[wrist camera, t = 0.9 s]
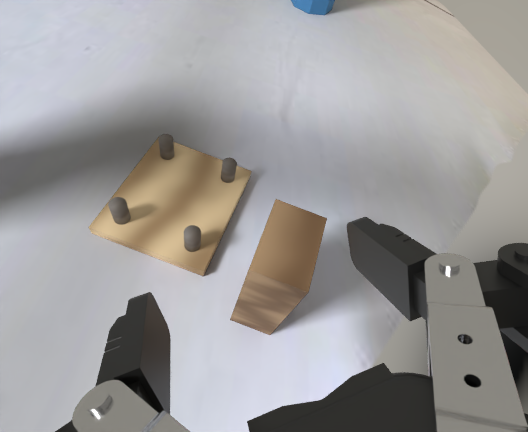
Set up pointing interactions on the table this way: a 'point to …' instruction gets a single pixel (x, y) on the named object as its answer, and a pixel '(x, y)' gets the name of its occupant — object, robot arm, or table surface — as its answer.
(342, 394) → the robot arm
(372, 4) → the table surface
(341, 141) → the table surface
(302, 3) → the water bottle
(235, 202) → the peg stand
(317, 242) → the brown wooden block
